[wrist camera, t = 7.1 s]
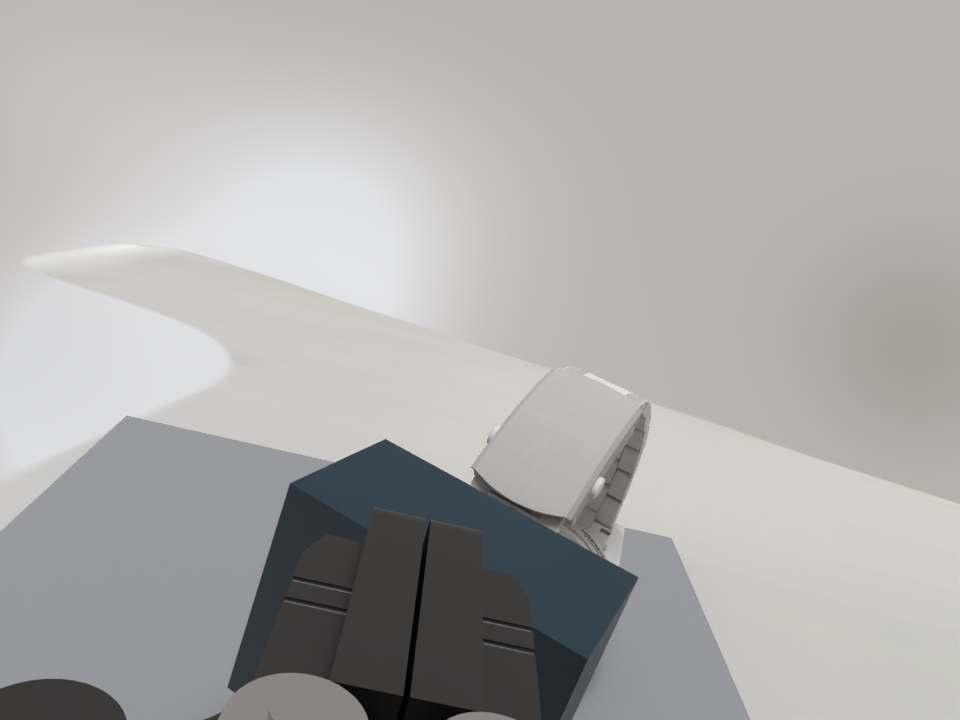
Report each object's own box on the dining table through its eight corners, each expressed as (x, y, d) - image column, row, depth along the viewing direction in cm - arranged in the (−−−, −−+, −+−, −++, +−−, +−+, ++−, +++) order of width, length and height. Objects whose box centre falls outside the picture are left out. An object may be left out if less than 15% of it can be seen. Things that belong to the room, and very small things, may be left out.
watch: (449, 958, 14) (619, 652, 24) (634, 558, 12) (737, 403, 22) (198, 766, 16) (453, 556, 26) (314, 386, 13) (545, 316, 23)
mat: (667, 547, 31) (671, 538, 31) (811, 891, 18) (818, 877, 18) (125, 426, 29) (126, 415, 29) (-166, 701, 16) (-167, 684, 16)
